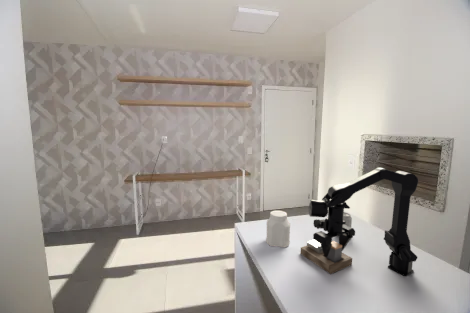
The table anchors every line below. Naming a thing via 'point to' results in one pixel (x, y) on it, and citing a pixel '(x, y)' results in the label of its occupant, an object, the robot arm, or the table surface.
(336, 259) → the plug
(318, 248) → the panel
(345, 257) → the socket board
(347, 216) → the can
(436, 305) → the table surface
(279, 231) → the jar
